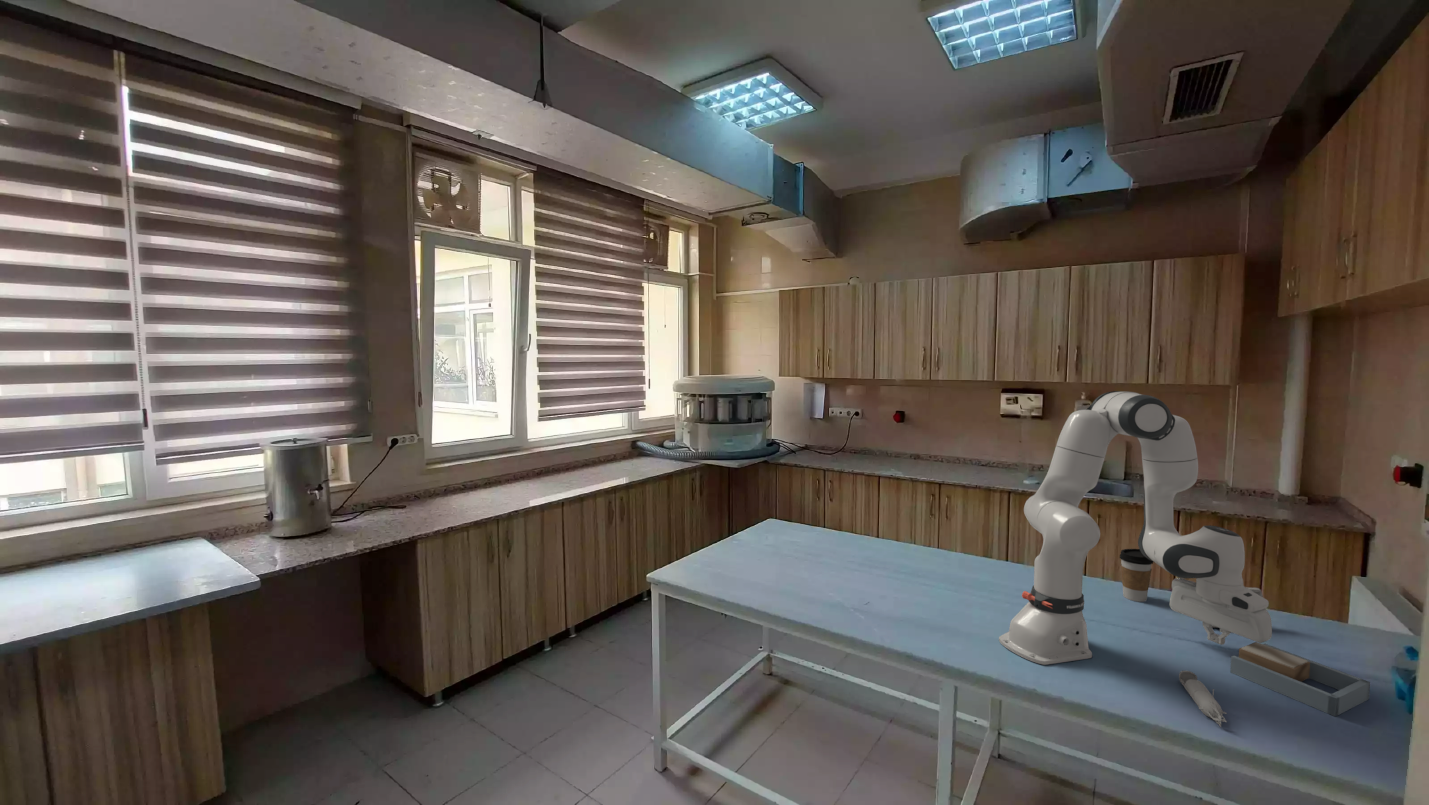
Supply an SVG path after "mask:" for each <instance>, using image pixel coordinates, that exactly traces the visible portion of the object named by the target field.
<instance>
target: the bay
mask: <svg viewBox="0 0 1429 805" xmlns="http://www.w3.org/2000/svg"><path fill="white" fill-rule="evenodd" d="M1262 644H1263V645H1266V646H1268V647H1271V648H1274V649H1277V650H1280V651H1282V652H1285V653H1288V654H1291V655H1293V656H1296V657H1299V658H1302V659H1304V660H1307V661H1308V662H1310V673H1309V678H1308V679H1309V680H1313V681H1315V682H1317V683H1320V684H1323V685H1324V686H1327V687H1330V688H1333V689H1336V690H1337V691H1335V692H1333V693H1329V692H1327V691H1326V690H1325V691H1324V690H1323V689H1321V688H1320V689H1319V688H1318V687H1314V686H1312V685H1309V684H1308V683H1305V682H1303V681H1302V682H1300V681H1297V680H1295V679H1292V678H1290V677H1287V676H1285V675H1282V674H1280V673H1277V672H1275V671H1272V670H1270V669H1267V668H1265V667H1262V666H1260V665H1257V664H1255V663H1252V662H1249V661H1247V660H1244V659H1242V658H1239V656H1236V655H1231V656H1230V669H1229V670H1230V673H1231V674H1233V675H1236V676H1239V677H1241V678H1243V679H1245V680H1248V681H1249V682H1252V683H1255V684H1257V685H1258V686H1259V685H1260V686H1262V687H1264V688H1267V689H1269V690H1272V691H1274V692H1276V693H1278V694H1281V695H1283V696H1285V697H1287V698H1291V699H1293V700H1295V701H1297V702H1299V703H1302V704H1304V705H1306V706H1309V707H1311V708H1314V709H1316V710H1319V711H1321V712H1323V713H1326V714H1328V715H1331V716H1333V717H1338V716H1339V715H1342V714H1344V713H1345V712H1347V711H1349V710H1350V709H1353V708H1355V707H1357V706H1358V705H1361V704H1362V703H1365V702H1366V701H1368V700H1370V694H1371V693H1370V689H1371V681H1368V680H1366V679H1362V678H1360V677H1358V676H1354V675H1352V674H1349V673H1347V672H1343V671H1341V670H1338V669H1336V668H1333V667H1330V666H1327V665H1324V664H1322V663H1319V662H1317V661H1313V660H1311V659H1308V658H1305V657H1303V656H1300V655H1298V654H1295V653H1292V652H1289V651H1287V650H1284V649H1281V648H1279V647H1276V646H1273V645H1270V644H1268V643H1262Z"/></svg>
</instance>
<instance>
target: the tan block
mask: <svg viewBox="0 0 1429 805" xmlns="http://www.w3.org/2000/svg"><path fill="white" fill-rule="evenodd" d="M1263 644H1264V643H1259V642H1256V641H1254V642H1252V643H1250V644H1247V645H1244V646H1243V647H1240V648H1239V649H1238V657H1239V658H1242V659H1244V660H1247V661H1249V662H1252V663H1255V664H1257V665H1260V666H1262V667H1265V668H1267V669H1270V670H1272V671H1275V672H1277V673H1280V674H1282V675H1285V676H1287V677H1290V678H1292V679H1295V680H1297V681H1300V682H1302V683H1303V681H1306V680H1308V679H1309V673H1310V662H1308V661H1307V660H1304V659H1302V658H1299V657H1296V656H1293V655H1291V654H1288V653H1285V652H1282V651H1280V650H1277V649H1274V648H1271V647H1268V646H1266V645H1263Z"/></svg>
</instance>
